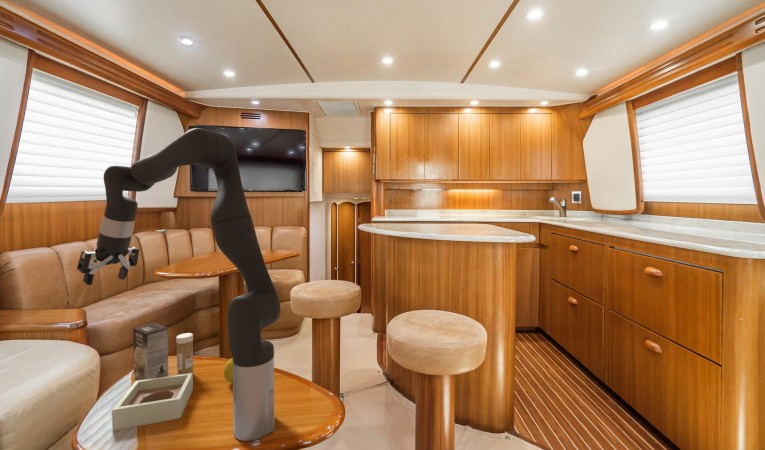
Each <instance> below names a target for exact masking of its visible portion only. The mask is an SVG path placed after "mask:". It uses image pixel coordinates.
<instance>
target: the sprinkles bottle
mask: <svg viewBox="0 0 765 450" xmlns="http://www.w3.org/2000/svg"><path fill="white" fill-rule="evenodd" d="M175 339H176V341H175V343H176V369H177V375H180V374H187V373H193V376H194V374H195V373H194V351H193V350H194V349H193V346H194V344H193V341H194V334H193V333H191V332H186V333H181V334H178V335H176V337H175Z"/></svg>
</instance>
